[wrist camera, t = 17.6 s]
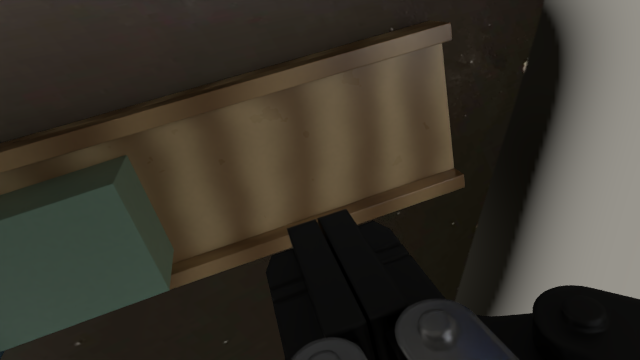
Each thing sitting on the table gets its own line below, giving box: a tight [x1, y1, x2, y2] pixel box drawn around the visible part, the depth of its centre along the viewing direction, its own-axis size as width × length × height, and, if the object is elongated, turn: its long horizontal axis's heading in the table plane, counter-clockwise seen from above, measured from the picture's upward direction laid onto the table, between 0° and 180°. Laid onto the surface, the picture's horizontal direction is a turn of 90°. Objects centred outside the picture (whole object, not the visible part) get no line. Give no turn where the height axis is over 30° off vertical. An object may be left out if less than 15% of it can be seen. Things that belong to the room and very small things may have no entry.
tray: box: [0, 21, 465, 290], centre depth 30 cm, size 36×13×3 cm, turn 103°
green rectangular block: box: [0, 155, 174, 352], centre depth 27 cm, size 11×8×5 cm
